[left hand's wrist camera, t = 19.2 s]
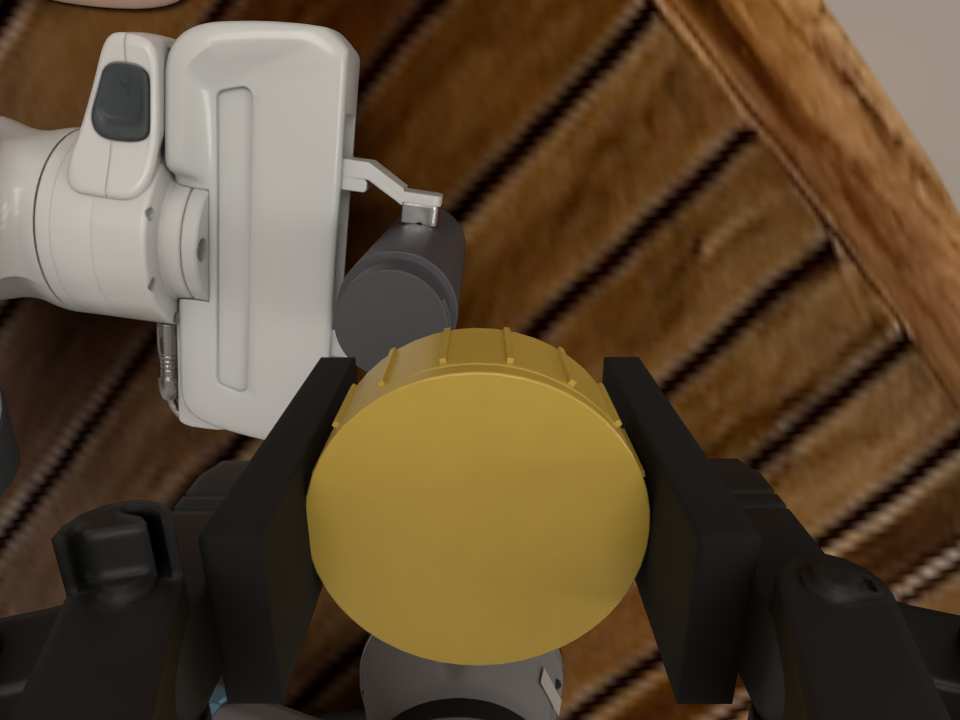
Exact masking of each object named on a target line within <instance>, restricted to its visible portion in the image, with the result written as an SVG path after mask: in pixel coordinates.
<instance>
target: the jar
mask: <svg viewBox="0 0 960 720" xmlns="http://www.w3.org/2000/svg"><path fill="white" fill-rule="evenodd" d="M401 219H402V214H401V215H400V216H399V217H398V218H397V219H396V220H395V221H394V222H393V223H392V224H391V225H390V227H389V228H388V229H387V230H386V231H385V232H384V233H383V234H382V235H381V237H380V238H379V239H378V240H377V241H376V242H375V243H374V244H373V245H372V247H371V248H370V249H369V250H368V251H367V252H366V253H365V254H364V255H363V257H362V258H361V259H360V260H359V261H358V262H357V263H356V264H355V265H354V267H353V268H352V269H351V270H350V271H349V272H348V274H347V275H346V277H345V278H344V280H343V282H342V284H341V287H340V290H339V293H338V298H337V302H336V309H335V314H334V329H335V334H336V337H337V340H338V343H339V345H340V347H341V349H342V350H343V352H344V353H345V355H346V356H347V357H355V359H356V366H358V367H359V368H361V369H362V370H364V371H366V372H369V371H370V370H371V369H372V368H373V367H375V366H376V365H377V364H378V363H379V362H380V361H381V360H383V359H384V358H385V357H387V356H388V354H389V352H390V350H391V349H392V348H394V347H396V349H399V348H401V347H403V346H405V345H407V344H409V343H411V342H413V341H415V340H418V339H421V338H424V337H426V336H429V335H432V334H436V333H440V332H444V328H448V327H450V329H451V330H455V328H456V324H457V319H458V311H459V302H460V293H461V284H462V275H463V266H464V257H465V237H464V234H463V231H462V229H461V227H460V225H459V223H458V222H457V221H456V219H455V218H454V217H453V216H451V215H450V214H449V213H448V212H446V211H444V210H442V209H441V215H440V223H439V226H438V227H429V226H425V225H423V224H422V223H421V222H418V223H417V224H408V223H402V222H401Z"/></svg>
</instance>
